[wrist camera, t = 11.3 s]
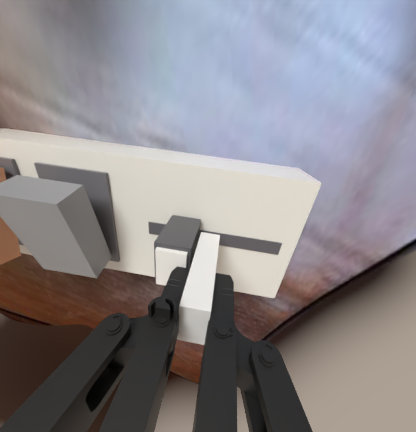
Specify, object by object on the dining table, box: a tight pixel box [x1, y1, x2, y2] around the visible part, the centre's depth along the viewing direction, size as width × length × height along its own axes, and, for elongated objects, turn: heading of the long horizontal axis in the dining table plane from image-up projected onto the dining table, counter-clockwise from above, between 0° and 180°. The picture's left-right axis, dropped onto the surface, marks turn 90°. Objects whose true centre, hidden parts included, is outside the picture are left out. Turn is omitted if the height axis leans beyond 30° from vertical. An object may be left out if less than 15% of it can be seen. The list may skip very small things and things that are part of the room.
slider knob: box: [154, 215, 201, 285], centre depth 14 cm, size 2×4×4 cm, turn 173°
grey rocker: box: [0, 175, 112, 278], centre depth 14 cm, size 5×8×2 cm, turn 173°
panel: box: [0, 129, 322, 298], centre depth 18 cm, size 30×12×5 cm, turn 83°
